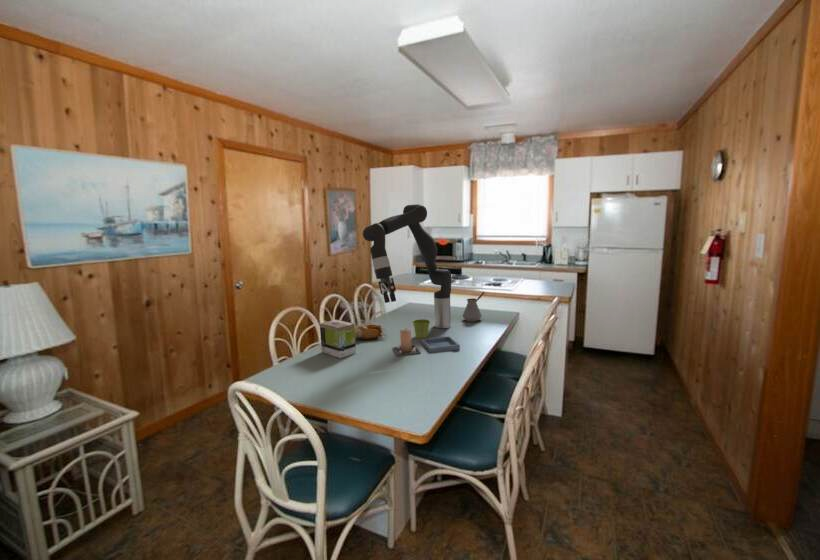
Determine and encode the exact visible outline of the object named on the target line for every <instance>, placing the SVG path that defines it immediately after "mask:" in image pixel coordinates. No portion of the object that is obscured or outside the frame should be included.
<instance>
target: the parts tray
mask: <svg viewBox="0 0 820 560" xmlns="http://www.w3.org/2000/svg"><path fill="white" fill-rule="evenodd" d="M411 347H412V351H411V352H409V353H402V351H401V346H394V347H392V350H393V352H394V353H395V355H396V356H397V357H404V356H411V355H412V356H413V355H421V351H420V349H419V348H418V347H417V346H416V345H415V344H411Z"/></svg>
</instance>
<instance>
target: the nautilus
mask: <svg viewBox="0 0 820 560" xmlns="http://www.w3.org/2000/svg"><path fill="white" fill-rule="evenodd" d="M383 327H384V326H383V325H380V324H378V323H373V322H367V323H364V322H363V323H361V324H358V325H356V326H355V338H359V339H360V340H369V339H381V340H383V339H384V338H385V339H386V340H387V339H388V337H387V336H388V335H387V333H389V331H387V333H385V335H384V336H383V334H384V331H385V332H386V329H384V328H383Z"/></svg>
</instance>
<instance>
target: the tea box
mask: <svg viewBox="0 0 820 560" xmlns="http://www.w3.org/2000/svg"><path fill="white" fill-rule="evenodd" d="M355 327H356V326H355V323H353V322H348V321H345V320H340V319H333V320H328V321H324V322H321V323H319V330H320V331H319V332H320V344H321V345H320V346H321V353H324V354H326V355H329V356H332V357H334V358H335V357H336V358H339V359H344V358H346V357H348V356H351V355H354V354H356V353H357V345H356V337H355Z"/></svg>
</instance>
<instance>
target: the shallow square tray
mask: <svg viewBox="0 0 820 560" xmlns="http://www.w3.org/2000/svg"><path fill="white" fill-rule="evenodd" d="M421 343H422V345H423V346H424V347H425V349H427V351H428V352H429V353H437V352H445V351H446V352H447V351H450V352H453V351H454V352H455V351H460V350H461V349H460V348H461V347H460V346H461V345H460V344H459V343H458V342H457V341H456V340H455V339H453V338H452V337H451V336H449V335H447V336H439V337H431V338H430V337H429V338H428V337H427V338H421Z"/></svg>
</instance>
